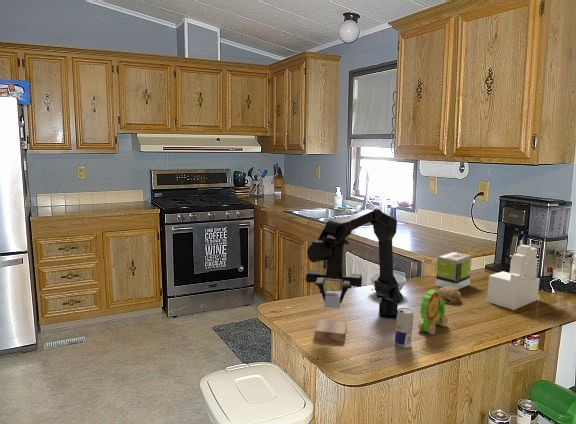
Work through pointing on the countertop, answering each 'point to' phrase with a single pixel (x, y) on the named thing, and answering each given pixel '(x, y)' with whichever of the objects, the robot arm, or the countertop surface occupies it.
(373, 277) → the chinaware
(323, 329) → the base block
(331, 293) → the blue-grey squarish block
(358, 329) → the countertop surface
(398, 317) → the energy drink
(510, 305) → the building blocks
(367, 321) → the countertop surface
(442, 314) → the toy lion
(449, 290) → the bread roll
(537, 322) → the countertop surface
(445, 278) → the tea box
